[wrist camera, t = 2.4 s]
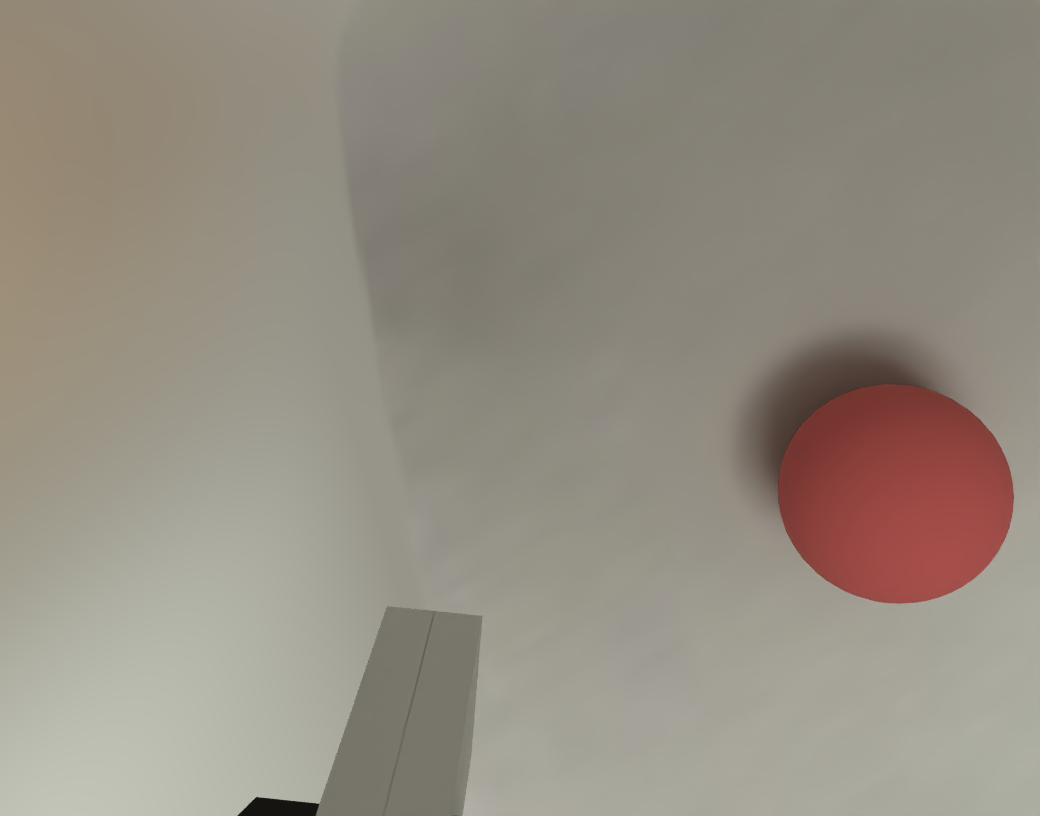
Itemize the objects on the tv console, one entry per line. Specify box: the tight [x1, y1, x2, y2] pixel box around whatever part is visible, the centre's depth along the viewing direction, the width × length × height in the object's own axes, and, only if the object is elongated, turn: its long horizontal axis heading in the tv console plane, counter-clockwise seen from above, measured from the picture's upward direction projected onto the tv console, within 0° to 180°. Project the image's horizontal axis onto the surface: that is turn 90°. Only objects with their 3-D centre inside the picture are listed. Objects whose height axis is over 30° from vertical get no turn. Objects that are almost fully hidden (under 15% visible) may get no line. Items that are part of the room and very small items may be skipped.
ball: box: [778, 384, 1014, 603], centre depth 23 cm, size 6×6×6 cm
